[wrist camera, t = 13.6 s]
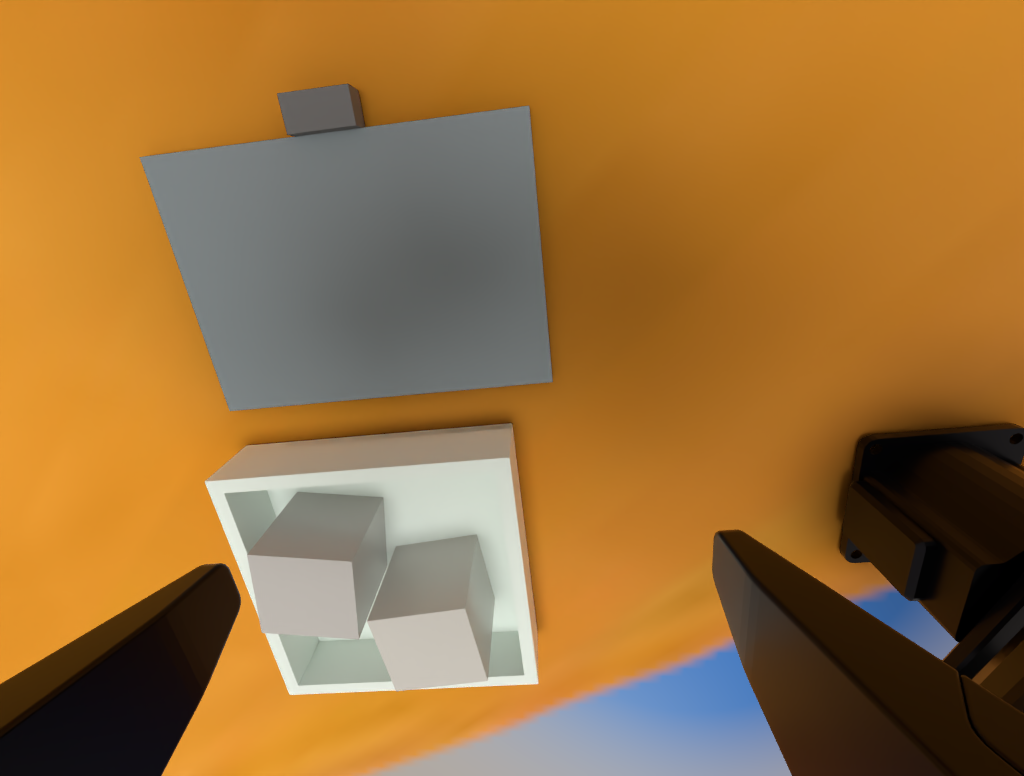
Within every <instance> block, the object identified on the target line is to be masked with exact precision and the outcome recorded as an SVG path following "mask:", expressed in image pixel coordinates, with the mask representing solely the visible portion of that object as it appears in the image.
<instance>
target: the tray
mask: <svg viewBox="0 0 1024 776" xmlns="http://www.w3.org/2000/svg"><path fill="white" fill-rule="evenodd" d="M205 484H206V486H207V489H208V491H209V494H210V496H211V499H212V501H213V504H214V506H215V509H216V511H217V514H218V516H219V519H220V521H221V524H222V526H223V529H224V531H225V534H226V536H227V539H228V541H229V544H230V546H231V549H232V551H233V554H234V556H235V559H236V561H237V564H238V566H239V569H240V571H241V574H242V576H243V579H244V581H245V584H246V586H247V589H248V591H249V594H250V597H251V599H252V602H253V604H254V607H255V609H256V612H257V614H258V610H257V604H256V599H255V594H254V589H253V584H252V578H251V573H250V568H249V563H248V558H247V554H248V553H249V552H250V550H251V549H252V548H253V547H254V545H255V544H256V543H257V542H258V540H259V539H260V538H261V537H262V535H263V534H264V533H265V532H266V530H267V529H268V528H269V526H270V525H271V524H272V523H273V521H274V520H275V519H276V518H277V516H278V515H279V514H280V513H281V511H282V510H283V509H284V508H285V506H286V505H287V504H288V503H289V501H290V500H291V499H292V498H293V496H294V495H295V494H296V493H297V492H308V493H324V494H340V495H355V496H371V497H383V498H384V515H385V532H386V550H387V568H388V566H389V563H390V560H391V558H392V555H393V553H394V550H395V547H396V546H401V545H408V544H415V543H421V542H428V541H435V540H442V539H449V538H455V537H462V536H469V535H476V534H477V537H478V540H479V544H480V547H481V551H482V554H483V558H484V561H485V565H486V569H487V572H488V576H489V579H490V583H491V586H492V590H493V593H494V597H495V605H494V616H493V628H492V639H491V650H490V662H489V673H488V681H482V682H473V683H465V684H456V685H447V686H438V687H429V688H421V689H434V688H457V687H479V686H502V685H525V684H538V633H537V623H536V614H535V606H534V598H533V590H532V582H531V573H530V565H529V557H528V549H527V540H526V532H525V524H524V516H523V507H522V499H521V491H520V483H519V474H518V466H517V458H516V450H515V442H514V433H513V425H512V423H508V424H496V425H484V426H472V427H460V428H448V429H436V430H425V431H413V432H401V433H389V434H377V435H365V436H353V437H341V438H329V439H318V440H306V441H294V442H282V443H270V444H258V445H246V446H245V447H244V448H243V449H242V450H241V451H239V452H238V453H237V454H236V455H235V456H234V457H232V458H231V459H230V460H229V461H228V462H227V463H226V464H224V465H223V466H222V467H221V468H220V469H219V470H217V471H216V472H215V473H214V474H213V475H212V476H211V477H209V478H208V479H207V480H206V481H205ZM386 571H387V569H386ZM386 571H385V573H386ZM384 576H385V574H384ZM384 576H383V578H384ZM382 581H383V579H382ZM381 584H382V582H381ZM381 584H380V586H381ZM379 589H380V587H379ZM379 589H378V591H379ZM377 594H378V592H377ZM377 594H376V597H377ZM376 597H375V599H376ZM374 602H375V600H374ZM374 602H373V604H374ZM372 607H373V605H372ZM372 607H371V609H372ZM370 612H371V610H370ZM370 612H369V615H370ZM369 615H368V617H369ZM258 617H259V615H258ZM367 620H368V618H367ZM367 620H366V623H365V625H364V628H363V630H362V633H361V636H360V638H359V639H344V638H330V637H315V636H300V635H285V634H271V633H265V634H266V637H267V639H268V642H269V644H270V647H271V649H272V652H273V654H274V657H275V659H276V662H277V664H278V667H279V669H280V672H281V674H282V677H283V679H284V682H285V684H286V687H287V689H288V692H289V694H290V695H298V694H320V693H343V692H366V691H389V690H395V688H394V685H393V683H392V680H391V678H390V676H389V673H388V671H387V668H386V666H385V664H384V661H383V659H382V656H381V654H380V652H379V649H378V647H377V644H376V642H375V640H374V637H373V635H372V632H371V630H370V628H369V625H368V623H367Z"/></svg>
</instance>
